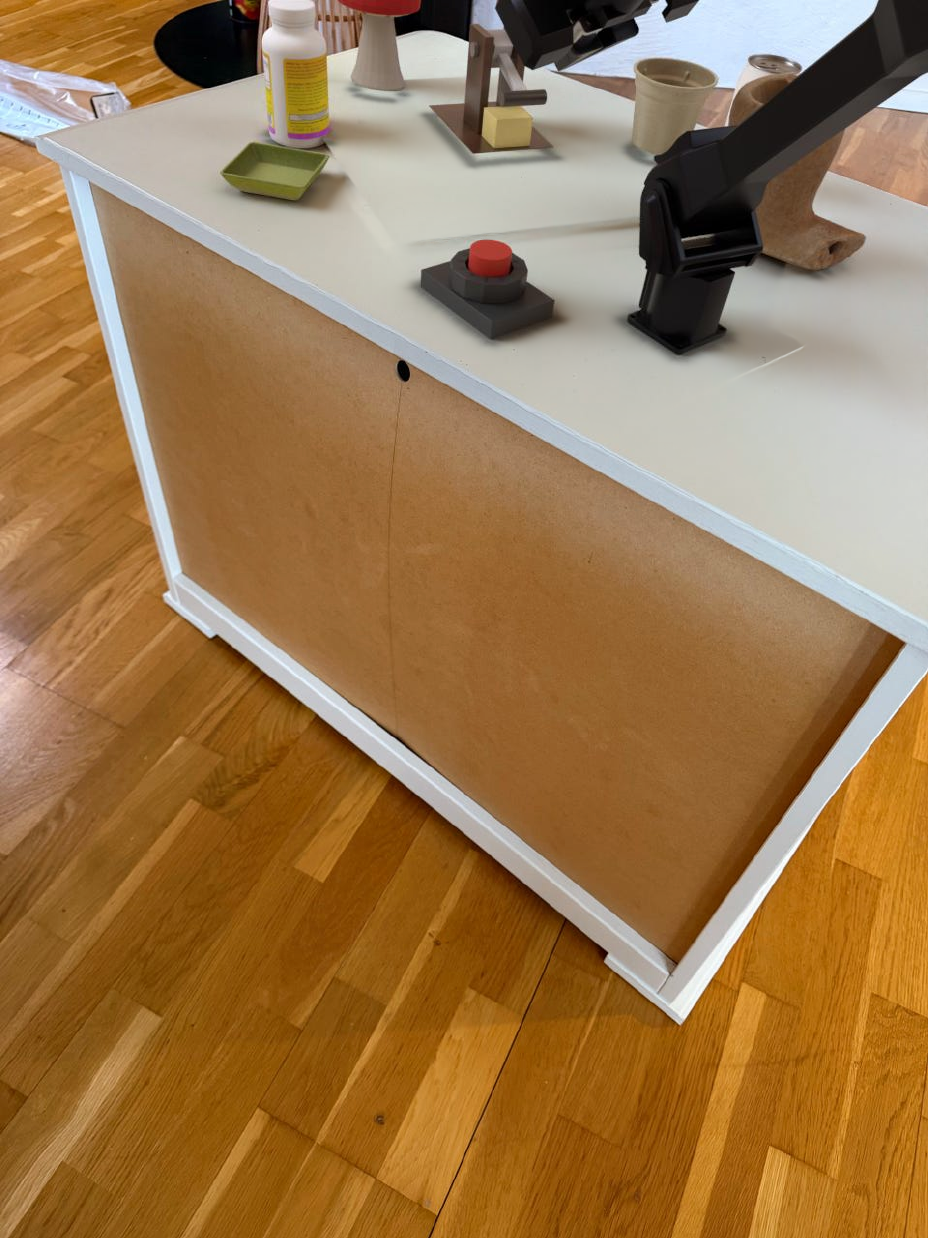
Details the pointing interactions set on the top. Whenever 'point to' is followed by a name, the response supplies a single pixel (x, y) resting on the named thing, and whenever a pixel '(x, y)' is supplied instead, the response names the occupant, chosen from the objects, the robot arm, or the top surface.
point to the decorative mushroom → (379, 43)
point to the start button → (490, 258)
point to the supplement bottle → (295, 75)
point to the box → (488, 295)
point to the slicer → (481, 96)
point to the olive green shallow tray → (274, 170)
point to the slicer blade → (512, 75)
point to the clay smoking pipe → (796, 194)
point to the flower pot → (668, 100)
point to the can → (764, 70)
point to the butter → (507, 126)
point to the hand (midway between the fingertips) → (558, 65)
